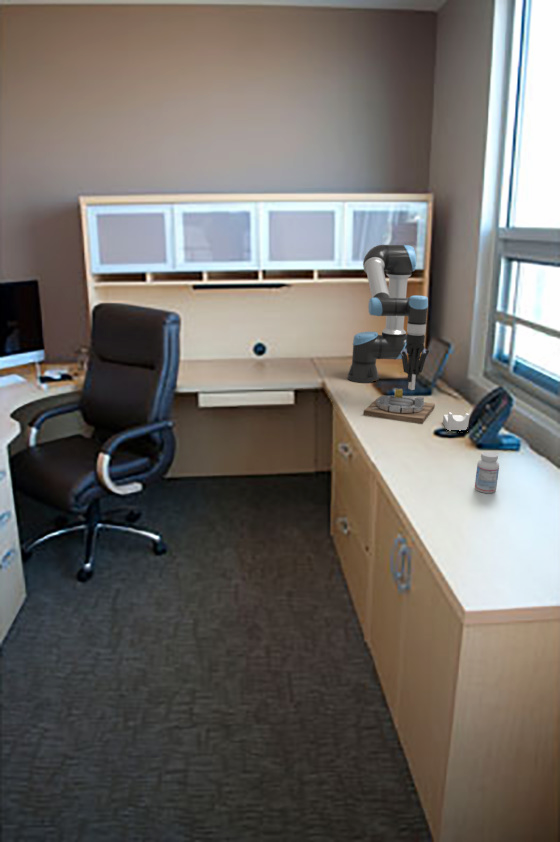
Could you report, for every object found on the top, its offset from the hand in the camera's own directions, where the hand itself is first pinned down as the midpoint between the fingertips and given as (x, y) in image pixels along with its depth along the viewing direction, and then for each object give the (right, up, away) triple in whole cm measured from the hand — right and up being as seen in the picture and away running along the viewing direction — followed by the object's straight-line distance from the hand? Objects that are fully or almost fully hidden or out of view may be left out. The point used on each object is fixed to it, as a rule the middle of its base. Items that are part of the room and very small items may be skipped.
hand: (411, 389), depth 268 cm
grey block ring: (-6, -7, -8) cm, 12 cm away
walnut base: (-6, -10, -7) cm, 13 cm away
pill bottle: (+5, -34, -82) cm, 89 cm away
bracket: (+11, -17, -26) cm, 33 cm away
